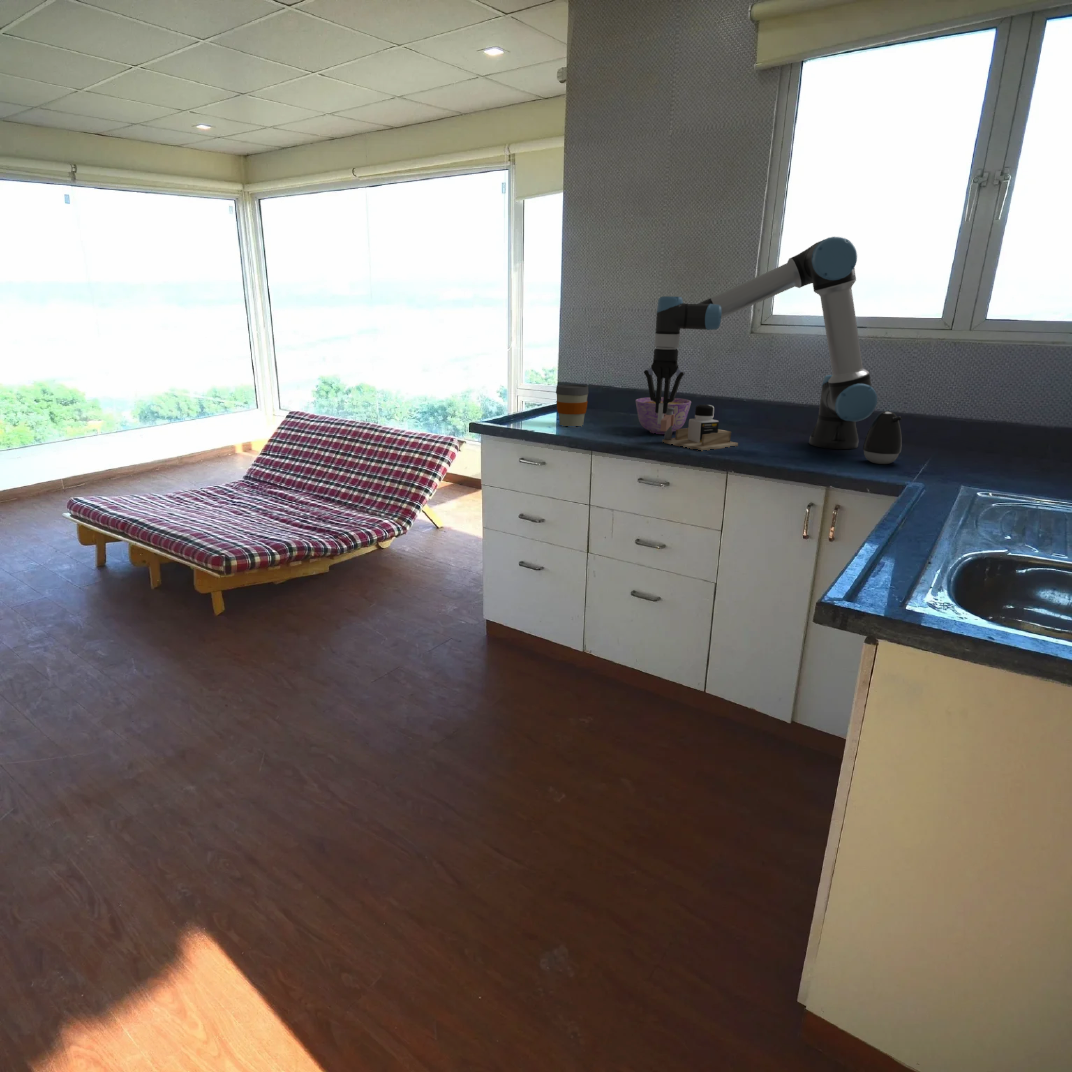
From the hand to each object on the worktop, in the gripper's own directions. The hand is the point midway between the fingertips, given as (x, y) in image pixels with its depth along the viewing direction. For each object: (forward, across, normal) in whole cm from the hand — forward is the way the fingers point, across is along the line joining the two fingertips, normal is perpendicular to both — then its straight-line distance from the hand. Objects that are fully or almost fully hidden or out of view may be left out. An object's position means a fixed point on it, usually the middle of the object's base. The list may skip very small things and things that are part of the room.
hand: (660, 423), depth 224 cm
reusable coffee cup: (+8, +41, -30) cm, 51 cm away
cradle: (+8, -12, -12) cm, 18 cm away
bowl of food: (+8, +5, -29) cm, 30 cm away
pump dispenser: (+7, -66, -4) cm, 67 cm away
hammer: (+7, -1, -4) cm, 8 cm away
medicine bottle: (+7, -12, -12) cm, 18 cm away
